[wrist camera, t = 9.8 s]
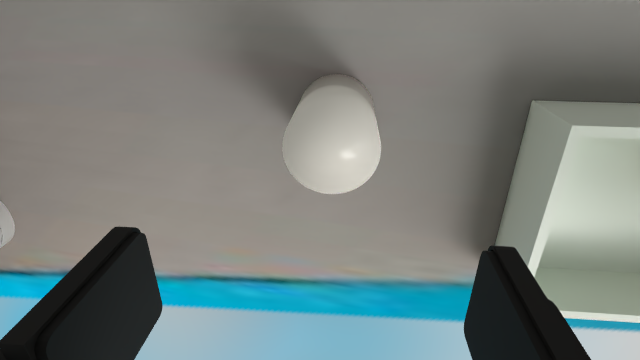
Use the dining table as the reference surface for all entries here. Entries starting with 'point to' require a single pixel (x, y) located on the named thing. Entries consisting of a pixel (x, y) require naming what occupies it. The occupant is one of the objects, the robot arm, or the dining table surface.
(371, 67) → the dining table surface
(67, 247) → the dining table surface
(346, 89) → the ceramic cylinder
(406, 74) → the dining table surface
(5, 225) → the cup
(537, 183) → the tote
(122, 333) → the robot arm
